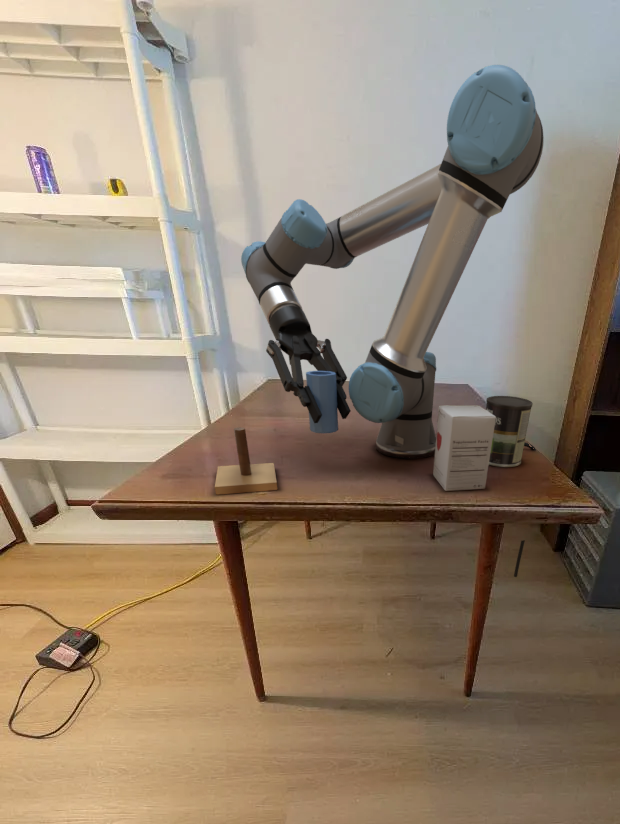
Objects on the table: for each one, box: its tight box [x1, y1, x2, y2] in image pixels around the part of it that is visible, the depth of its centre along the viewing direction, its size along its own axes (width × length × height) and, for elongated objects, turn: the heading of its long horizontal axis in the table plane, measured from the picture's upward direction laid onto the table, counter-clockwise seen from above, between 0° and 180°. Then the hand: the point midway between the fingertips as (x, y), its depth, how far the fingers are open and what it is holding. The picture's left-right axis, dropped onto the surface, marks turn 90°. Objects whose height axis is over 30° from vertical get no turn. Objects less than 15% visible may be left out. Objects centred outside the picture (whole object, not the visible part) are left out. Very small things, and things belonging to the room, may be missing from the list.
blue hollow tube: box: [305, 370, 339, 434], centre depth 85 cm, size 6×6×11 cm
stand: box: [214, 426, 278, 496], centre depth 82 cm, size 11×11×11 cm
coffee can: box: [485, 395, 534, 468], centre depth 100 cm, size 10×10×14 cm
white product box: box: [432, 404, 496, 492], centre depth 86 cm, size 9×9×15 cm
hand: (332, 416), depth 84 cm, fingers closed on blue hollow tube, 6 cm apart
